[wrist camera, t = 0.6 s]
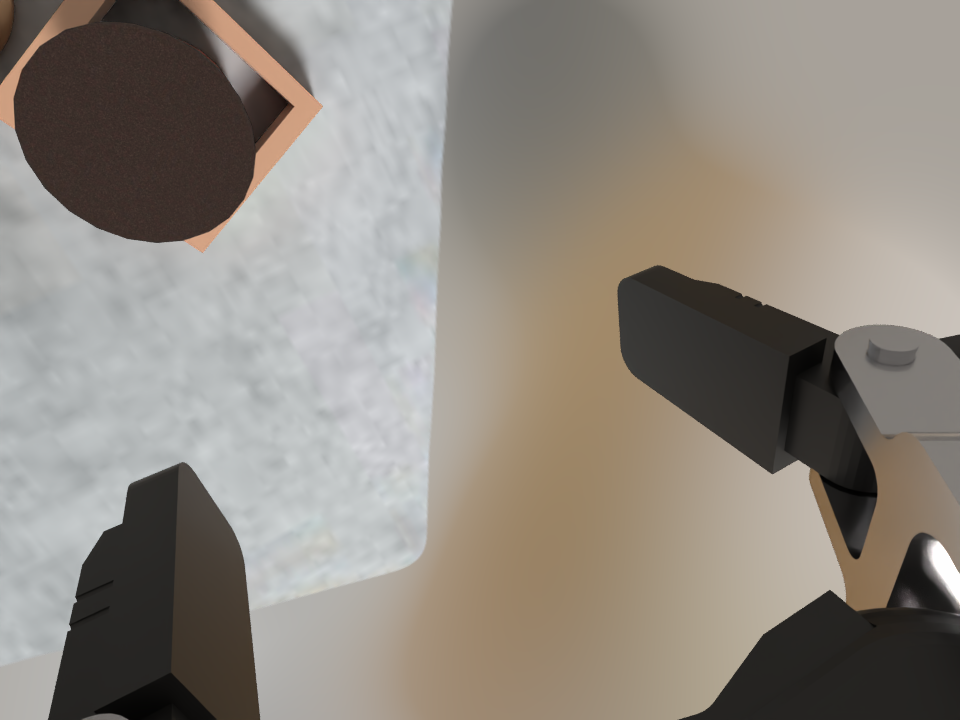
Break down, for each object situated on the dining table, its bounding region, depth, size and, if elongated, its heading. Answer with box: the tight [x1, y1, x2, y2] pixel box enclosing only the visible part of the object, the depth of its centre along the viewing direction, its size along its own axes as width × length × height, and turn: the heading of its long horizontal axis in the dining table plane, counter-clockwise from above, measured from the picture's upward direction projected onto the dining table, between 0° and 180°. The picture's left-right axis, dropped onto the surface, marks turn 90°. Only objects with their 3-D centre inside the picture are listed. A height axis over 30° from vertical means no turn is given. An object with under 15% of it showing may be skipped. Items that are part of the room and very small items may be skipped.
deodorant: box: [13, 21, 256, 243], centre depth 22 cm, size 6×6×15 cm
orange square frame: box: [0, 0, 323, 253], centre depth 27 cm, size 10×10×2 cm
